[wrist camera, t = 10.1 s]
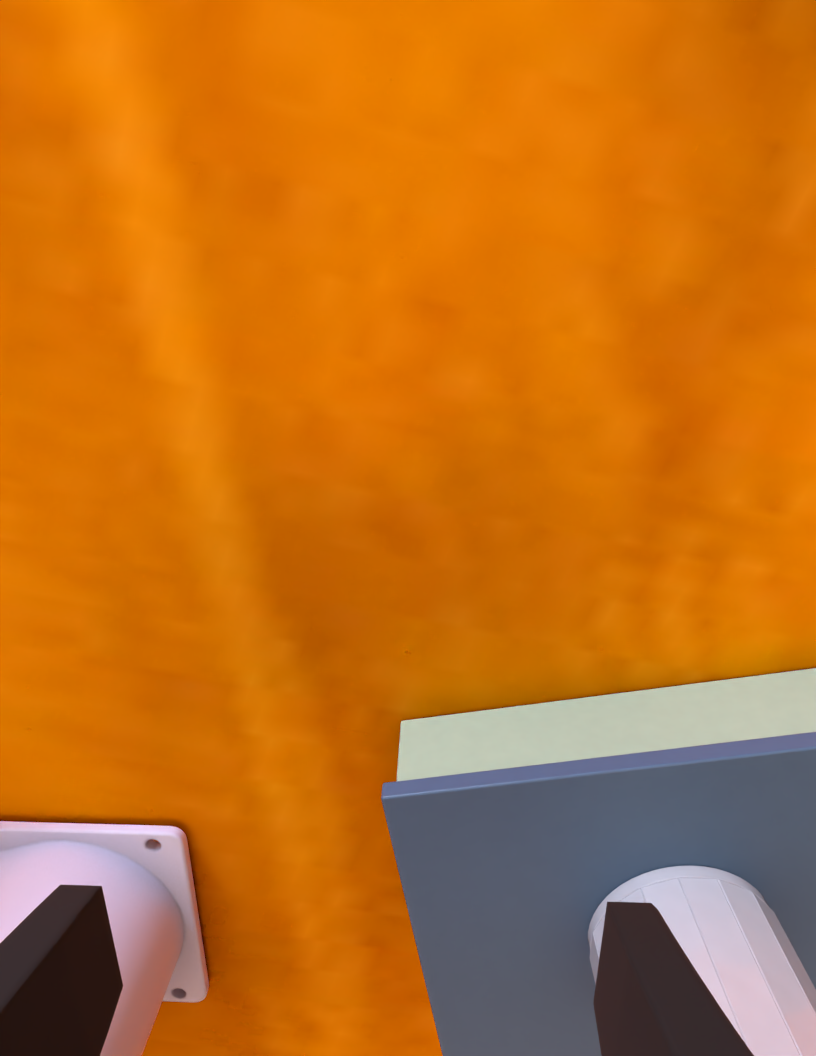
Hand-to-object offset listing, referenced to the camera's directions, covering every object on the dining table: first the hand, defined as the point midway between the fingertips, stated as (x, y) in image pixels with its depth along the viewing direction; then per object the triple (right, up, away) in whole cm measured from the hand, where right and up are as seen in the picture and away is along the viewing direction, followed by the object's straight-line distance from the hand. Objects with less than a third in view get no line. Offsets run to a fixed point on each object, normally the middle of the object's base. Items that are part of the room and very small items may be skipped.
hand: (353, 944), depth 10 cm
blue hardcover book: (+8, -4, +12) cm, 15 cm away
